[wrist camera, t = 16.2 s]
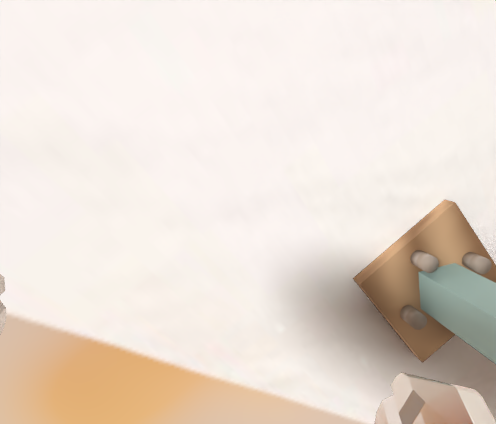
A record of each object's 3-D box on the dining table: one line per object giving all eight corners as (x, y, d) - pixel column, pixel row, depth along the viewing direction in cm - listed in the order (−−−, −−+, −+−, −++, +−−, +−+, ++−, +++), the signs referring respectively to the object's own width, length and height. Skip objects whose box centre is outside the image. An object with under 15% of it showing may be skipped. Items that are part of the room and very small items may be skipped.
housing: (444, 199, 39) (470, 206, 36) (498, 281, 43) (526, 295, 39) (352, 278, 39) (369, 293, 36) (414, 354, 43) (434, 374, 39)
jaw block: (420, 308, 40) (500, 367, 30) (418, 271, 39) (500, 320, 29) (456, 299, 40) (545, 354, 31) (455, 262, 39) (546, 308, 30)
